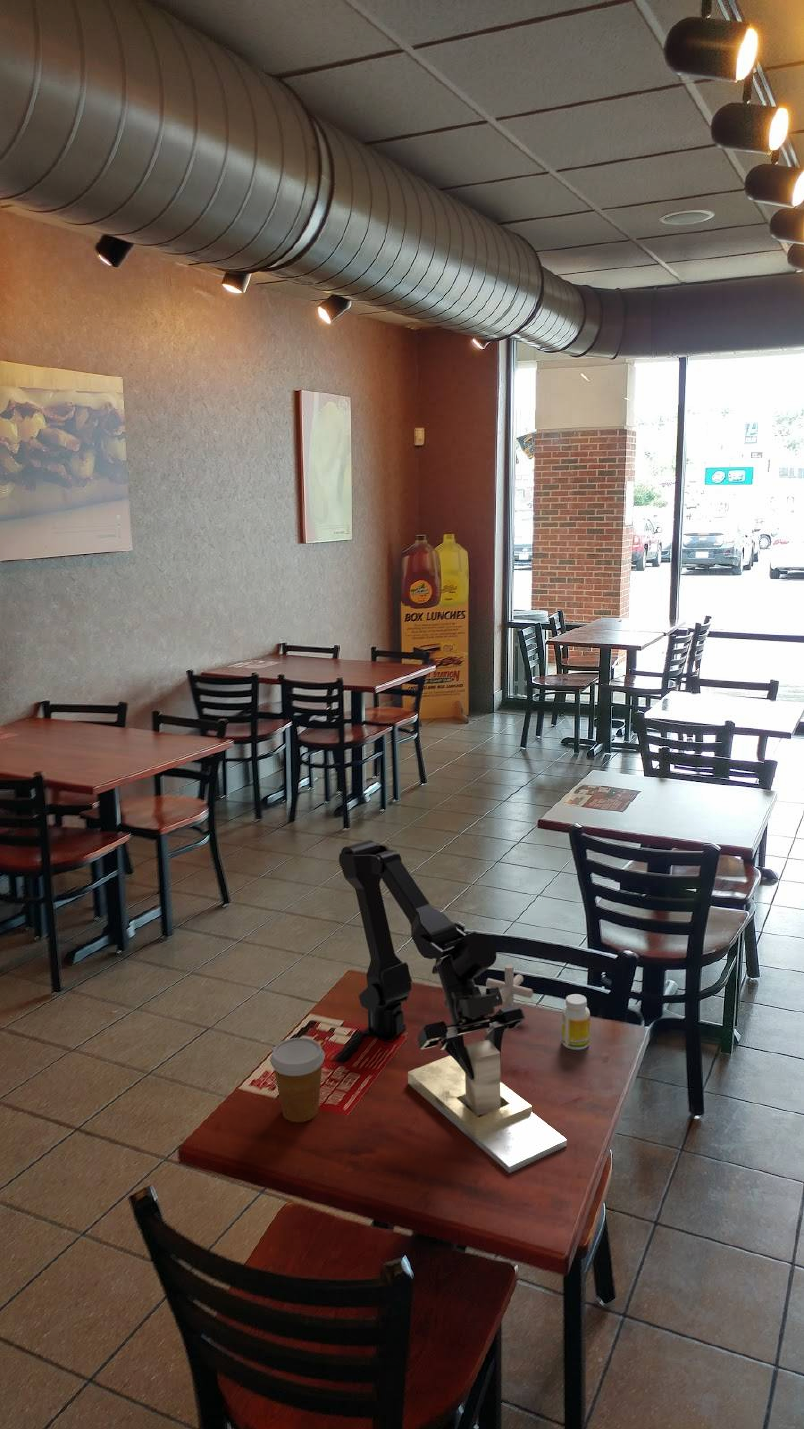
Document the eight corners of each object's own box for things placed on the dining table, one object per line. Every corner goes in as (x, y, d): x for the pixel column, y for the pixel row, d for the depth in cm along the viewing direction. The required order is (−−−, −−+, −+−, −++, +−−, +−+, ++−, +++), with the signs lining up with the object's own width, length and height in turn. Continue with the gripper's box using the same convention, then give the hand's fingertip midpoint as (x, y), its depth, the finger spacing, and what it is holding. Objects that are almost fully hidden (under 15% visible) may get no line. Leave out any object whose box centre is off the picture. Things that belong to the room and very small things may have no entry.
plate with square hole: (408, 1083, 183) (407, 1071, 182) (461, 1062, 189) (461, 1051, 189) (509, 1173, 158) (509, 1159, 158) (566, 1145, 164) (566, 1132, 164)
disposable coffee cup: (264, 1122, 173) (260, 1060, 170) (288, 1091, 182) (284, 1032, 179) (313, 1132, 170) (310, 1069, 167) (336, 1101, 178) (333, 1040, 176)
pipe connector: (520, 1027, 201) (520, 981, 199) (477, 1014, 206) (476, 970, 204) (541, 1005, 209) (541, 961, 207) (498, 994, 215) (498, 951, 212)
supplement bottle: (556, 1042, 195) (556, 998, 193) (574, 1033, 198) (574, 989, 196) (577, 1054, 191) (577, 1008, 189) (595, 1043, 194) (595, 999, 192)
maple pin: (465, 1101, 175) (464, 1045, 172) (489, 1095, 176) (488, 1039, 174) (476, 1116, 170) (475, 1058, 168) (500, 1110, 172) (500, 1052, 170)
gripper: (422, 983, 169) (448, 1075, 161) (520, 963, 175) (550, 1051, 167) (407, 1004, 178) (431, 1092, 170) (501, 984, 184) (528, 1068, 176)
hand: (485, 1075), depth 171 cm, fingers closed on maple pin, 5 cm apart
